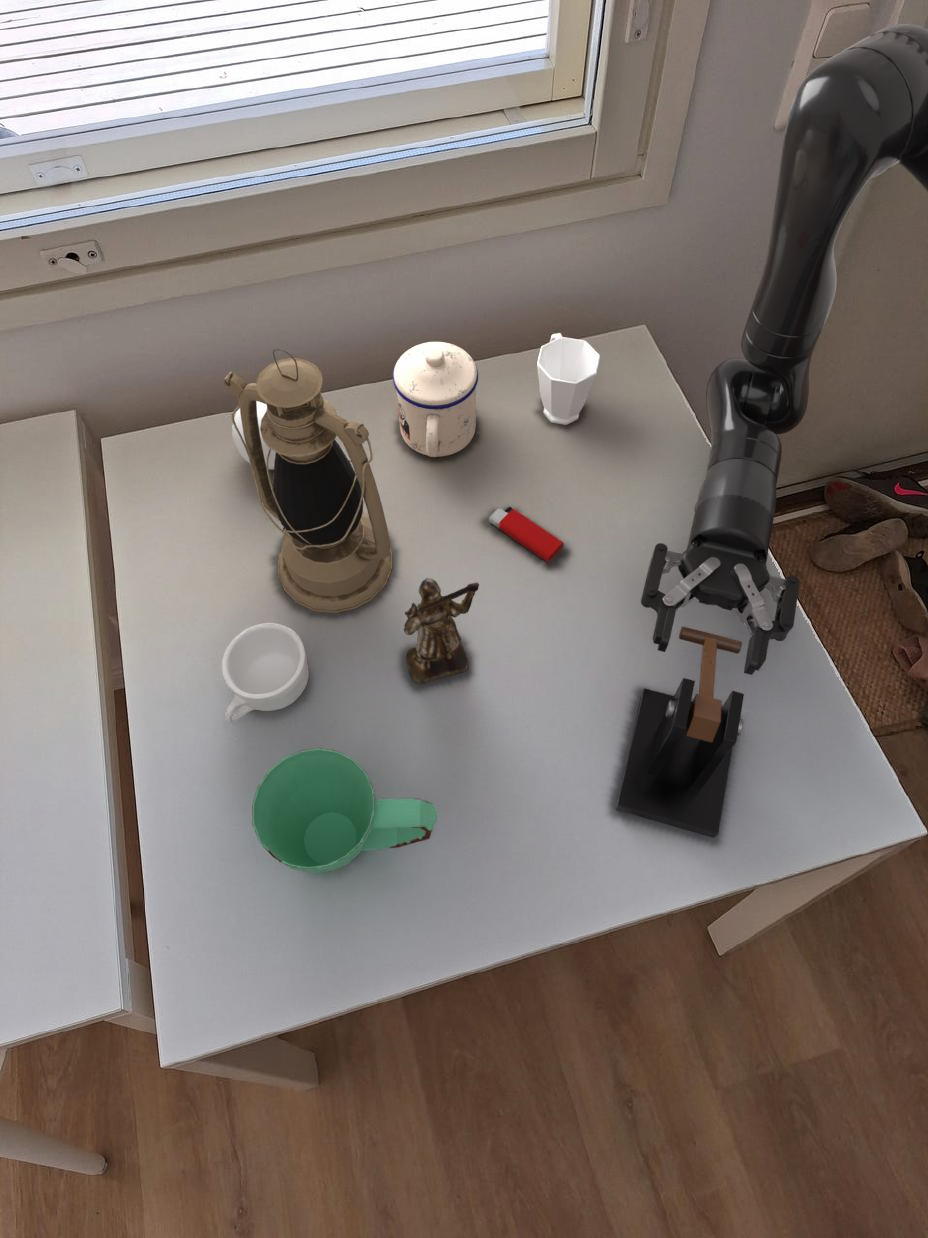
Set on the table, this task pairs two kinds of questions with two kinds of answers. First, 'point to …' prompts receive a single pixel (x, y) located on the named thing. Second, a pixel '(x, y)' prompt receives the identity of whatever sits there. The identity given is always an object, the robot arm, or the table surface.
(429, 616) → the figurine
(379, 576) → the lantern
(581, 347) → the cup
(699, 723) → the lever
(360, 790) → the mug
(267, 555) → the table surface
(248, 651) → the teacup
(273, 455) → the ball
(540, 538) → the lighter
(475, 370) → the teacup with lid
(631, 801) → the bracket
